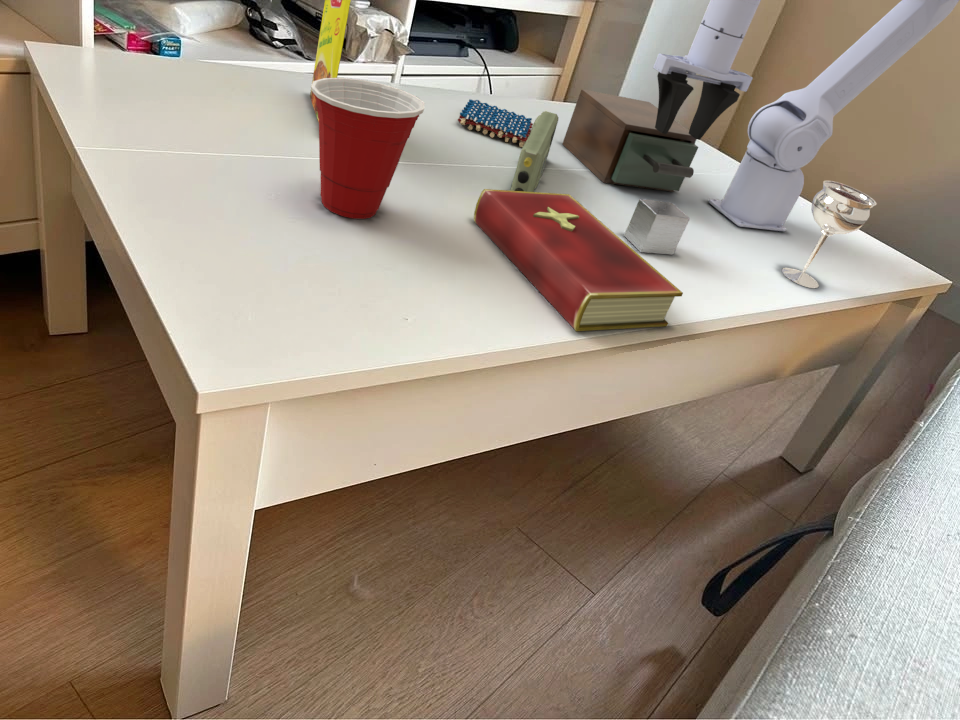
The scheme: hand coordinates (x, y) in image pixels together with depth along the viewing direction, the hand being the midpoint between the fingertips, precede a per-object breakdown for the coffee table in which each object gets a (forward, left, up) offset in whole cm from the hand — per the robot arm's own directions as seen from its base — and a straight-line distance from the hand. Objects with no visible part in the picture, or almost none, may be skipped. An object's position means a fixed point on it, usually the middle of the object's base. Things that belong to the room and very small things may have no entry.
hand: (677, 133), depth 103 cm
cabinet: (0, -10, -9) cm, 14 cm away
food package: (+45, -13, -10) cm, 48 cm away
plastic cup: (+47, +12, -10) cm, 49 cm away
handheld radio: (+21, +1, -10) cm, 23 cm away
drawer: (0, -5, -8) cm, 10 cm away
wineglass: (-11, +20, -10) cm, 25 cm away
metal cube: (+10, +15, -9) cm, 20 cm away
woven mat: (+17, -19, -10) cm, 27 cm away
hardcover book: (+26, +23, -10) cm, 36 cm away
